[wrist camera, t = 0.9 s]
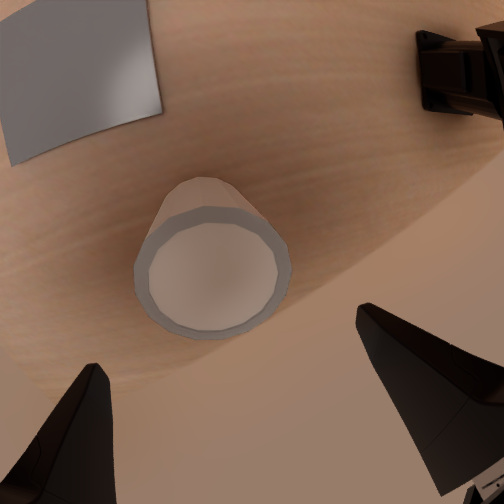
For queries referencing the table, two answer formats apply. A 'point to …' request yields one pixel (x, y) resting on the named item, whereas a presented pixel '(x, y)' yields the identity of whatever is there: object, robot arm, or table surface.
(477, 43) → the robot arm
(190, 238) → the white cup
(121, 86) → the slate plate
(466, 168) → the table surface
